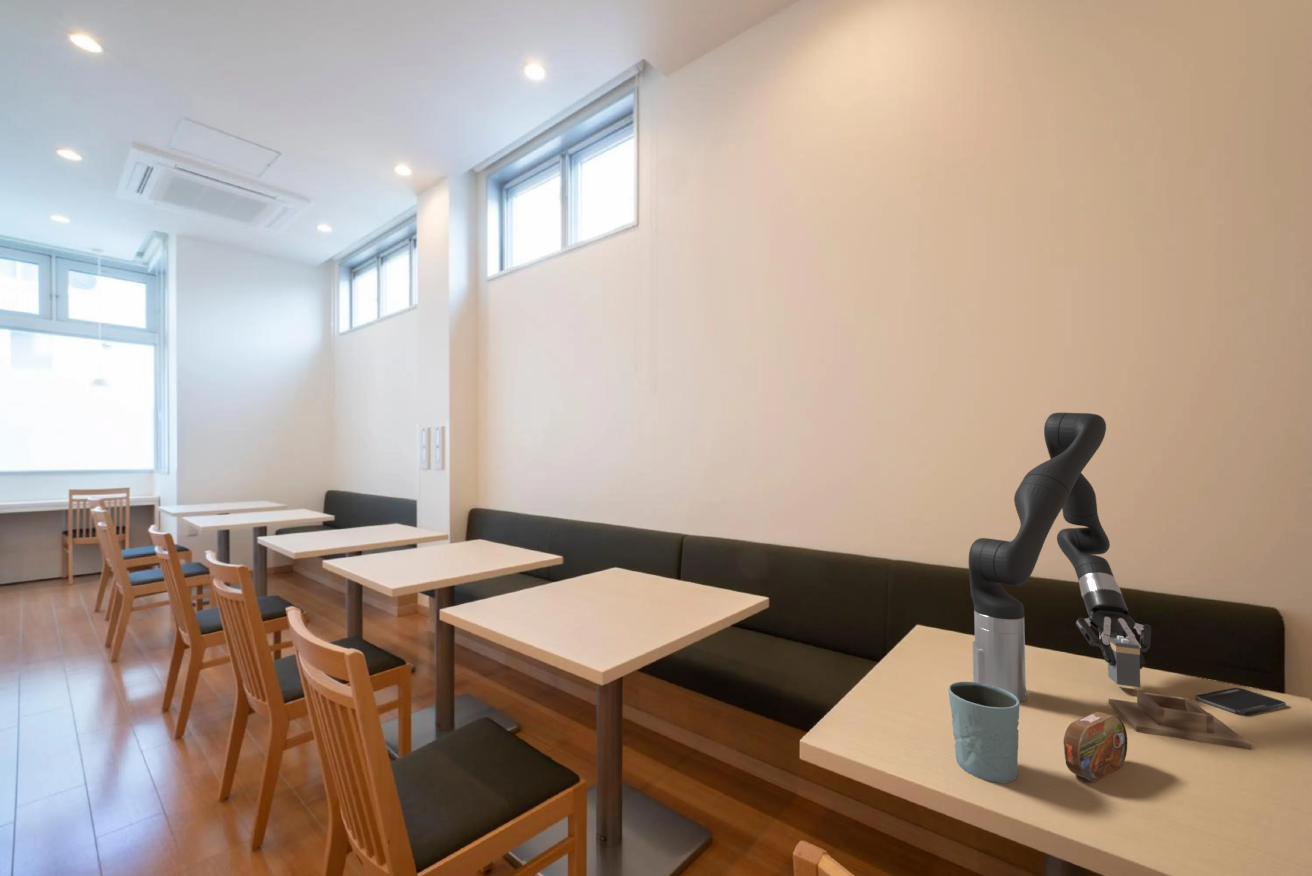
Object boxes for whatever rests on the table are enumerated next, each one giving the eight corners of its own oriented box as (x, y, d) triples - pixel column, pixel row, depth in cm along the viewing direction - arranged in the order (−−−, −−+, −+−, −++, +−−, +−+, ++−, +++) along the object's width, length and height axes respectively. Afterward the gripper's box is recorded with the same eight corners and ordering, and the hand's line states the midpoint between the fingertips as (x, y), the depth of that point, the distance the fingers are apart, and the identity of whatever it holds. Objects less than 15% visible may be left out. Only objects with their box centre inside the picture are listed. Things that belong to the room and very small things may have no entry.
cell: (1117, 684, 114) (1115, 640, 115) (1107, 676, 119) (1106, 633, 119) (1140, 687, 113) (1139, 642, 113) (1130, 679, 117) (1129, 636, 117)
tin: (1082, 788, 81) (1081, 733, 82) (1060, 777, 84) (1058, 724, 85) (1130, 763, 88) (1129, 712, 88) (1107, 754, 91) (1106, 704, 91)
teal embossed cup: (1023, 793, 80) (1021, 714, 80) (947, 772, 85) (946, 697, 86) (1019, 761, 89) (1017, 689, 89) (950, 743, 94) (949, 676, 94)
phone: (1193, 695, 112) (1238, 687, 116) (1193, 701, 112) (1238, 692, 116) (1243, 713, 104) (1289, 703, 108) (1243, 719, 104) (1289, 708, 108)
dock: (1136, 731, 98) (1135, 709, 99) (1108, 703, 109) (1108, 684, 110) (1251, 749, 92) (1250, 726, 93) (1209, 718, 104) (1208, 697, 104)
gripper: (1070, 584, 126) (1091, 652, 115) (1145, 591, 121) (1175, 663, 109) (1062, 601, 131) (1082, 668, 119) (1134, 608, 126) (1162, 679, 114)
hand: (1126, 665), depth 114 cm, fingers closed on cell, 4 cm apart
